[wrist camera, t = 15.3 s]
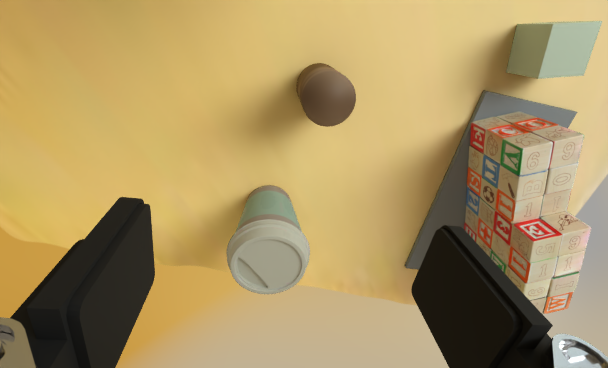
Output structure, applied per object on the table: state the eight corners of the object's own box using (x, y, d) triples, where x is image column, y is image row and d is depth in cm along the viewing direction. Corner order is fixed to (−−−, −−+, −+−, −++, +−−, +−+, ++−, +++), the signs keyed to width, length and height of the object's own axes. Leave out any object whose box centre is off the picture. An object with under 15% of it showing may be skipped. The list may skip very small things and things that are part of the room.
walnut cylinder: (301, 58, 34) (308, 66, 27) (345, 68, 35) (362, 78, 28) (292, 104, 36) (297, 121, 30) (334, 112, 37) (347, 130, 30)
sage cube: (516, 24, 34) (553, 24, 30) (559, 21, 35) (602, 21, 30) (505, 72, 37) (538, 78, 32) (545, 69, 37) (583, 75, 32)
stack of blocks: (468, 120, 38) (548, 159, 27) (518, 109, 38) (619, 143, 27) (461, 254, 48) (518, 322, 37) (501, 245, 48) (570, 311, 37)
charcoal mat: (483, 90, 37) (486, 91, 37) (573, 111, 39) (577, 112, 39) (404, 265, 49) (406, 268, 48) (477, 273, 51) (480, 275, 50)
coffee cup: (233, 176, 39) (219, 233, 28) (301, 174, 40) (313, 228, 29) (238, 232, 43) (228, 301, 32) (300, 230, 44) (310, 295, 33)
